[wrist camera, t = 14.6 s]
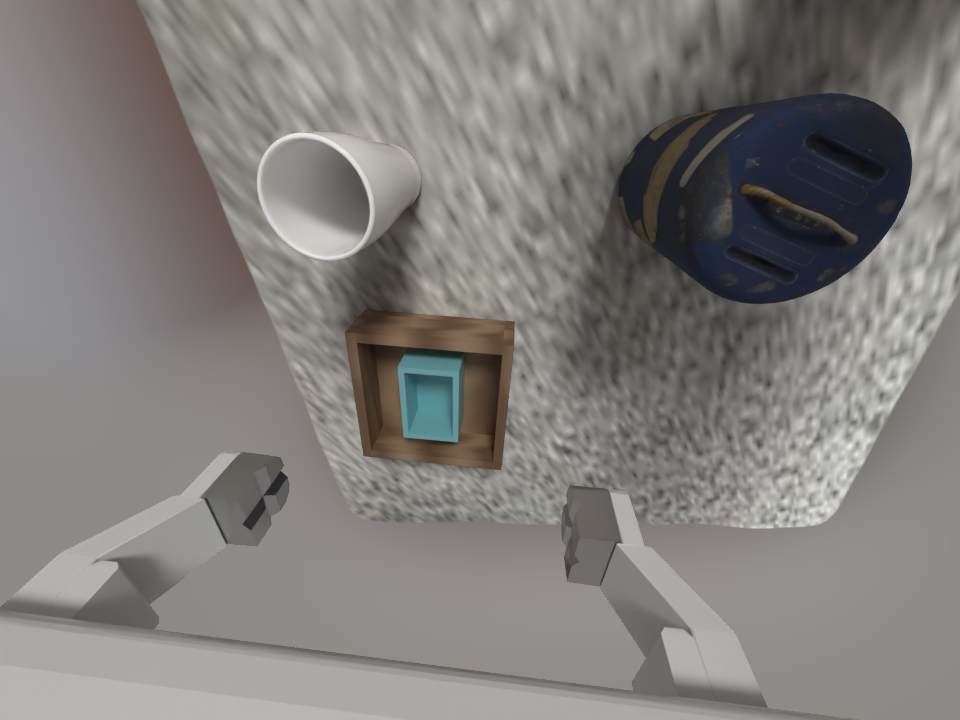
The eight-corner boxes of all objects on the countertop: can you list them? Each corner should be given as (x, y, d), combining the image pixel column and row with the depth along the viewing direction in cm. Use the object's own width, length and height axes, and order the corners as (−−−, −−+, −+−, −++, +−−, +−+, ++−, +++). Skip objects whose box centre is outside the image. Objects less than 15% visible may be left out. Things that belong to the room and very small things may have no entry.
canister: (665, 260, 35) (780, 355, 20) (589, 195, 33) (652, 244, 17) (760, 166, 31) (1003, 194, 15) (679, 84, 29) (869, 20, 13)
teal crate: (465, 347, 41) (459, 372, 36) (463, 413, 45) (458, 442, 41) (410, 343, 41) (397, 367, 37) (414, 409, 45) (403, 437, 41)
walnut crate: (514, 321, 40) (513, 346, 35) (502, 437, 48) (501, 469, 43) (365, 309, 40) (344, 332, 36) (378, 425, 49) (363, 455, 44)
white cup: (440, 206, 35) (394, 247, 22) (374, 226, 36) (293, 275, 23) (415, 122, 31) (342, 111, 18) (343, 147, 33) (229, 153, 20)
